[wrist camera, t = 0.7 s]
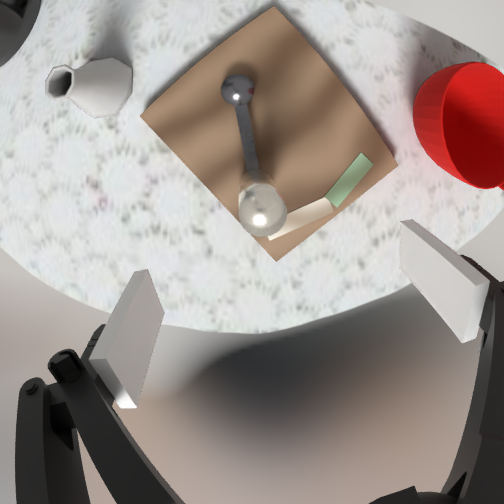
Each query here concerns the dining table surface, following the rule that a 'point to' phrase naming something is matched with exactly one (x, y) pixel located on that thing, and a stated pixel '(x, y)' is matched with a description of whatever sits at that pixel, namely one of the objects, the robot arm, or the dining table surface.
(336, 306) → the dining table surface
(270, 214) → the metal crank handle
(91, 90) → the flask
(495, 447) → the robot arm
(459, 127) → the ceramic cup
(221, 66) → the board
